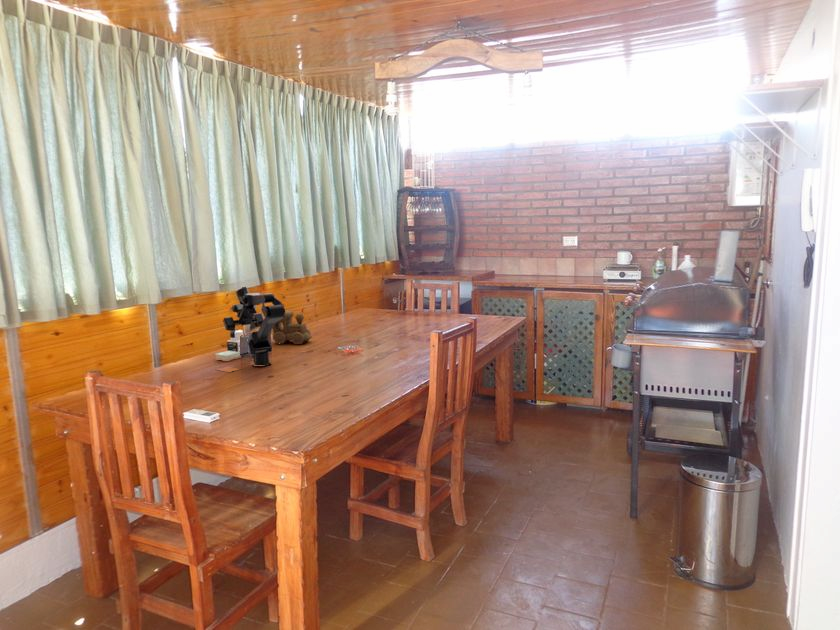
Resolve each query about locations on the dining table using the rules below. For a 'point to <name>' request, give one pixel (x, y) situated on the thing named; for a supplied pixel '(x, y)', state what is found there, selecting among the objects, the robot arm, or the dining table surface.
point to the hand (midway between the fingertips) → (240, 331)
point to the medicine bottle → (234, 341)
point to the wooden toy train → (291, 329)
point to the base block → (227, 354)
